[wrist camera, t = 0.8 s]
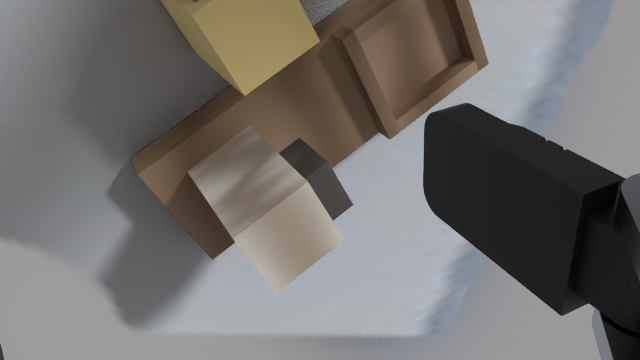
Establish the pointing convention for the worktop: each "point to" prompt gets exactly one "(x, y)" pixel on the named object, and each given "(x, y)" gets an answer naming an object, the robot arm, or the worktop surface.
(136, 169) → the rail
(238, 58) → the yellow and grey box
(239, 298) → the worktop surface
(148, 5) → the worktop surface
